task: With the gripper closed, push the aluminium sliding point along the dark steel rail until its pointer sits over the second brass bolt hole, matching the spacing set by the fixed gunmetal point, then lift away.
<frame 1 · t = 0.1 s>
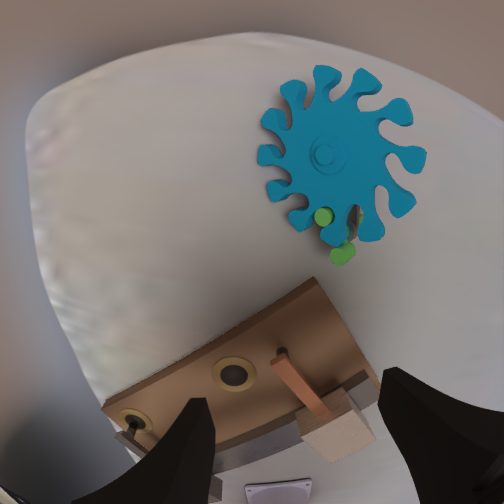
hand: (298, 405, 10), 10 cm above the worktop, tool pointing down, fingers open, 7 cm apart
gear: (316, 168, 18), on the worktop
hole board: (250, 409, 22), on the worktop
slider: (318, 405, 17), point 4 cm above the worktop, slide at -6.0 cm
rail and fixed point: (243, 438, 18), on the hole board, point 4 cm above the worktop
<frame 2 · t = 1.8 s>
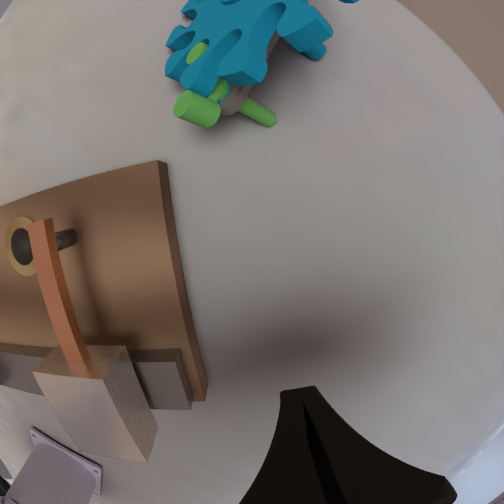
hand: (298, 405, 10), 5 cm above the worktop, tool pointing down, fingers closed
gear: (245, 44, 11), on the worktop
hole board: (40, 321, 14), on the worktop
slider: (78, 347, 10), point 4 cm above the worktop, slide at -6.0 cm
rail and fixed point: (1, 338, 10), on the hole board, point 4 cm above the worktop
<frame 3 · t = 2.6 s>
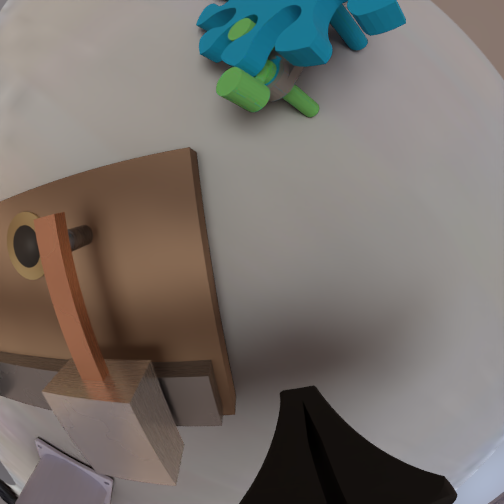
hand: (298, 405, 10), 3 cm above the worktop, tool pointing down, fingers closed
gear: (282, 29, 10), on the worktop
hole board: (47, 329, 13), on the worktop
slider: (95, 363, 9), point 4 cm above the worktop, slide at -6.0 cm
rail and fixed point: (4, 350, 9), on the hole board, point 4 cm above the worktop
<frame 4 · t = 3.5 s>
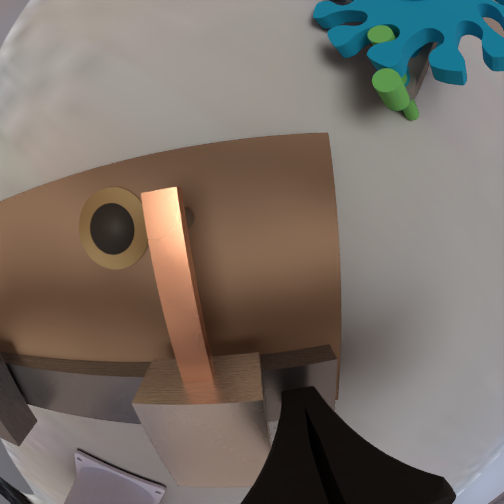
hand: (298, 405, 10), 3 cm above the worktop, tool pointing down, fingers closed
gear: (380, 37, 10), on the worktop
hole board: (115, 329, 13), on the worktop
slider: (198, 362, 9), point 4 cm above the worktop, slide at -5.0 cm, touching gripper
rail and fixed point: (71, 357, 9), on the hole board, point 4 cm above the worktop
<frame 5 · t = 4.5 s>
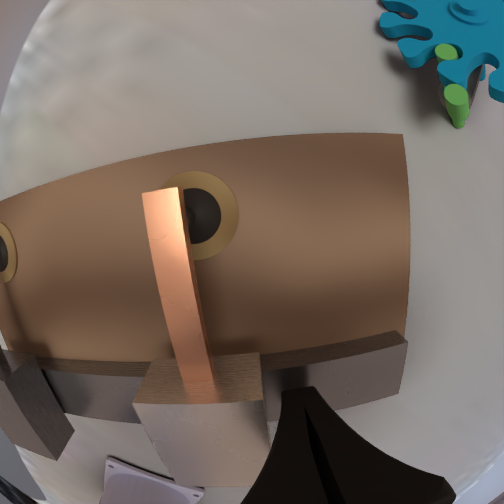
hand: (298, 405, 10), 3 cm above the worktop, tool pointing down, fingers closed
gear: (430, 50, 10), on the worktop
hole board: (176, 325, 13), on the worktop
slider: (198, 362, 9), point 4 cm above the worktop, slide at -1.7 cm, touching gripper
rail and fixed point: (140, 359, 9), on the hole board, point 4 cm above the worktop
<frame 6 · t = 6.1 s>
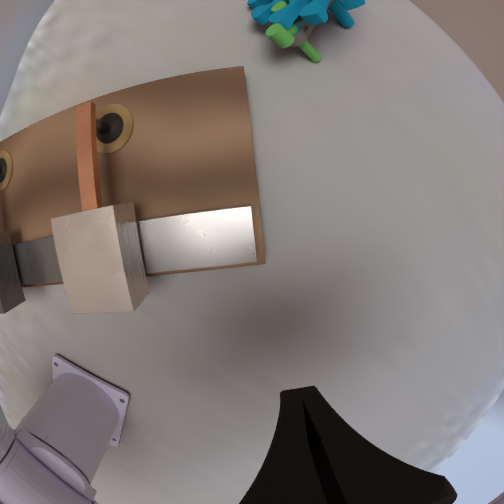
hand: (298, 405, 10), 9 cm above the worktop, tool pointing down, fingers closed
gear: (300, 13, 15), on the worktop
hole board: (102, 210, 17), on the worktop
slider: (94, 202, 13), point 4 cm above the worktop, slide at -1.7 cm
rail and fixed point: (67, 209, 14), on the hole board, point 4 cm above the worktop
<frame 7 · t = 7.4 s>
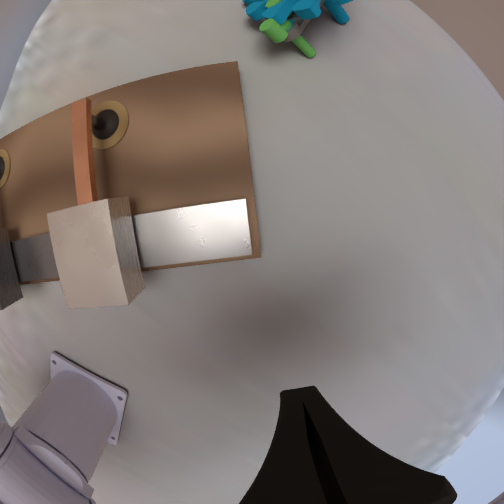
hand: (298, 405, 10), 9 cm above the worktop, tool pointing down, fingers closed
gear: (295, 9, 15), on the worktop
hole board: (98, 206, 17), on the worktop
slider: (90, 197, 13), point 4 cm above the worktop, slide at -1.7 cm
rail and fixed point: (63, 204, 14), on the hole board, point 4 cm above the worktop
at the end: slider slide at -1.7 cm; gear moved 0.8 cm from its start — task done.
